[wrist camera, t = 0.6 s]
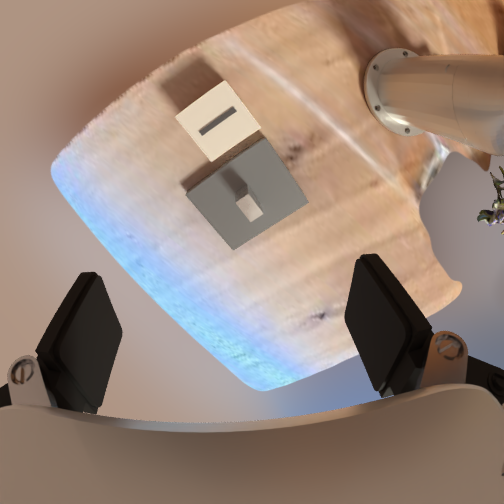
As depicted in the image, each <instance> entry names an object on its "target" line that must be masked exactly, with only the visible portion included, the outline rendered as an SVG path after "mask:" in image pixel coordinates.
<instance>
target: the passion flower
mask: <svg viewBox="0 0 504 504" xmlns="http://www.w3.org/2000/svg"><path fill="white" fill-rule="evenodd" d="M499 168H500V170H501V172H502V174H503V177H504V171H503V169H502V168H501V167H500V166H499ZM490 174H491V176H492V178H493V183H494V186H495V188H496V190H497V193H498V199H497V200H494V203H493V205H492V208H493V211H490V210H481V212H480V213H479V214H480V215H479V216H478V217H477V220H478V222H479V221H482V220H484V221H485V222H486V224H487V225H489V226H491V225H493V224H496V223H500V224H504V198H503V199H501V198H502V195H501V190H504V188H501V187H500V186H499V185H500V184H502V183H504V181H500V180H498V179H497V178H495V177H494V176H493V175H492V173H491V172H490ZM499 193H500V195H499ZM500 196H501V198H500ZM501 234H504V230H503V232H502V233H501Z"/></svg>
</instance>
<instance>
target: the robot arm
mask: <svg viewBox="0 0 504 504" xmlns="http://www.w3.org/2000/svg"><path fill="white" fill-rule="evenodd" d="M373 66H374V68H375V69H374V68H373ZM364 94H365V98H366V101H367V104H368V106H369V109H370V111H371V112H372V114H373V115H374V117H375V118H376V120H377V121H378V122H379V123H380V124H381V125H382V126H384V127H385V128H386V129H388V130H390V131H392V132H394V133H396V134H399V135H403V136H416V135H419V134H422V133H423V132H425V131H427V132H431V133H434V134H437V135H440V136H443V137H446V138H449V139H451V140H454V141H457V142H460V143H462V144H465V145H468V146H470V147H473V148H475V149H478V150H481V151H483V152H485V153H488V154H491V155H496V156H504V55H479V54H451V55H430V56H419V55H418V54H416V53H414V52H412V51H410V50H407V49H403V48H391V49H386V50H384V51H381V52H379V53H378V54H377V55H375V56H374V57H373V58H372V60H371V61H370V62H369V64H368V66H367V68H366V71H365V75H364ZM375 106H376V109H375ZM345 323H346V325H347V327H348V329H349V332H350V334H351V336H352V338H353V341H354V343H355V345H356V348H357V350H358V352H359V354H360V357H361V359H362V362H363V364H364V366H365V369H366V371H367V373H368V376H369V378H370V381H371V383H372V386H373V388H374V390H375V391H379V393H380V396H381V398H384V397H388V396H391V395H394V396H392V397H388V398H384V399H380V400H376V401H372V402H368V403H364V404H359V405H355V406H350V407H346V408H341V409H337V410H331V411H326V412H320V413H314V414H308V415H301V416H295V417H286V418H278V419H268V420H257V421H244V422H224V423H177V422H156V421H142V420H132V419H123V418H122V419H121V418H114V417H107V416H100V415H94V414H97V410H98V407H100V406H101V405H102V402H103V399H104V395H105V391H106V388H107V384H108V381H109V377H110V374H111V370H112V367H113V364H114V360H115V357H116V354H117V350H118V347H119V344H120V341H121V338H122V328H121V326H120V323H119V321H118V318H117V316H116V313H115V311H114V309H113V306H112V304H111V302H110V299H109V296H108V293H107V291H106V288H105V285H104V283H103V280H102V278H101V276H98V275H97V273H95V272H83V273H81V274H80V275H79V276H78V278H77V280H76V281H75V283H74V284H73V286H72V287H71V289H70V290H69V292H68V294H67V295H66V297H65V298H64V300H63V302H62V303H61V305H60V307H59V308H58V310H57V312H56V313H55V315H54V317H53V319H52V320H51V322H50V324H49V326H48V327H47V329H46V331H45V333H44V335H43V337H42V339H41V341H40V343H39V344H38V346H37V349H36V350H35V351H36V353H37V354H38V356H37V359H36V358H34V357H33V356H30V355H26V356H22V357H20V358H18V359H17V360H15V361H14V363H13V364H12V365H11V366H10V368H9V371H8V374H7V377H8V378H7V379H8V383H7V384H5V385H4V386H2V387H1V388H0V504H504V370H502V369H501V368H498V367H496V366H493V365H490V364H488V363H486V362H483V361H481V360H478V359H476V358H473V357H471V356H469V355H468V349H467V345H466V343H465V342H464V340H463V339H462V338H461V337H460V336H458V335H457V334H455V333H453V332H449V331H440V332H437V333H436V334H434V333H433V332H432V330H431V329H432V326H431V325H430V324H429V322H428V321H427V319H426V318H425V316H424V315H423V313H422V312H421V311H420V309H419V308H418V306H417V305H416V304H415V302H414V301H413V300H412V298H411V297H410V296H409V294H408V293H407V291H406V290H405V289H404V287H403V286H402V285H401V284H400V282H399V281H398V280H397V278H396V277H395V276H394V274H393V273H392V272H391V271H390V269H389V268H388V267H387V266H386V264H385V263H384V262H383V261H382V259H381V258H380V257H379V256H378V255H377V254H363V255H361V256H360V259H357V260H356V262H355V268H354V273H353V278H352V283H351V288H350V292H349V297H348V301H347V306H346V310H345ZM83 411H84V412H85V413H83ZM87 413H91V414H87Z"/></svg>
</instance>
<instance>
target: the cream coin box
mask: <svg viewBox="0 0 504 504" xmlns="http://www.w3.org/2000/svg"><path fill="white" fill-rule="evenodd" d="M175 118H176V119H177V120H178V121H179V123H180V124H181V125H182V126H183V128H184V129H185V130H186V131H187V132H188V134H189V135H190V136H191V137H192V139H193V140H194V141H195V142H196V144H197V145H198V146H199V147H200V149H201V150H202V151H203V152H204V154H205V155H206V156H207V157H208V159H209V160H210V161H211V162H212V161H214V160H215V159H217V158H218V157H219V156H221V155H222V154H224V153H225V152H226V151H228V150H229V149H231V148H232V147H234V146H235V145H236V144H238V143H239V142H241V141H242V140H244V139H245V138H247V137H248V136H250V135H251V134H253V133H254V132H256V131H257V130H259V129H260V128H261V127H260V125H259V124H258V123H257V121H256V120H255V119H254V117H253V116H252V115H251V113H250V112H249V111H248V109H247V108H246V106H245V105H244V104H243V103H242V101H241V100H240V99H239V97H238V96H237V95H236V93H235V92H234V91H233V89H232V88H231V87H230V86H229V84H228V83H227V82H226V81H225V80H224V81H223V82H221V83H220V84H218V85H217V86H215V87H214V88H213V89H211V90H210V91H208V92H207V93H206V94H204V95H203V96H201V97H200V98H199V99H197V100H196V101H195V102H193V103H192V104H191V105H189V106H188V107H187V108H185V109H184V110H183V111H182V112H180V113H179V114H178V115H176V116H175Z"/></svg>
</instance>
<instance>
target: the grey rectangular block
mask: <svg viewBox="0 0 504 504" xmlns="http://www.w3.org/2000/svg"><path fill="white" fill-rule="evenodd" d="M235 203H236V204H237V206H238V207H239V208H240V209H241V211H242V212H243V213H244V214H245V216H246V217H247V218H248V220H249V221H250V222H252V221H253V220H255V219H257V218H258V217H260V216H261V215H263V214H264V213H263V209H262V205H261V202H260V201H259V200H258V198H257V197H256V196H255V194H254V193H253V191H252V190H251V189H250V187H249V186H248V185H246V186H244V187H243V188H241V189H240V190H238V191H237V192H235Z"/></svg>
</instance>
